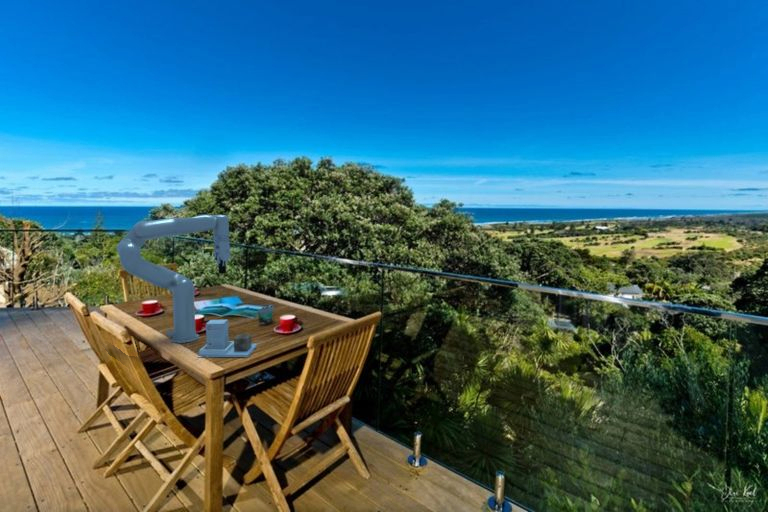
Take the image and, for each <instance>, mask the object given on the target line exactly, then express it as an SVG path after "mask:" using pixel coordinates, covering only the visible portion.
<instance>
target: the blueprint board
mask: <svg viewBox="0 0 768 512" xmlns="http://www.w3.org/2000/svg"><path fill="white" fill-rule="evenodd" d="M251 346H252V347H251V348H250V349H249V350H248V351H234V340H229V346H228V347H227V348H226V349H225V350H216V349H207V343H206V344H205V345H204V346H202V347H201V348H200V349H199V350H198V354H197V355H198V356H210V357H248V356H249V355H250V354H251V353H254V351H255V350H256V349H257V348H256V347H258V343H251ZM255 348H256V349H255ZM254 349H255V350H254ZM251 355H252V354H251ZM251 355H250V356H251ZM250 356H249V357H250ZM210 357H209V358H210ZM249 357H248V358H249Z"/></svg>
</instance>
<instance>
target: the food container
mask: <svg viewBox="0 0 768 512" xmlns="http://www.w3.org/2000/svg"><path fill="white" fill-rule="evenodd" d="M274 310H275V307H274V305H273V304H271V303H267V305H266V306H262V307H261V308H257V316H258V325H259V326H268V325H271V324H273V315H274V313H273V311H274Z"/></svg>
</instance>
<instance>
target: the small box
mask: <svg viewBox="0 0 768 512" xmlns="http://www.w3.org/2000/svg"><path fill="white" fill-rule="evenodd" d="M205 333H206V337H205V338H206V344H207V349H216V350H225V349H226V348H227V347H228V346H229V341H230V339H229V320H228V319H210V320H208V321H207V322H206V323H205Z"/></svg>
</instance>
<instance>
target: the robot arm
mask: <svg viewBox="0 0 768 512" xmlns="http://www.w3.org/2000/svg"><path fill="white" fill-rule="evenodd" d="M229 225H230V224H229V216H228V215H227V214H226V215H225V214H215V215H210V214H199V215H197V216H193V217H192V216H191V217H168V218H163V219H162V218H161V219H156V220H155V219H154V220H140V221H138V222H136V223H135V224H134V226H133V227H132V228H131V229H130V230H129V231H128V233H126V235H124V236H123V238H121V240H120V241H119V242H118V243H117V246H116V252H117V254H118V255H119V256H118V257H119V262H120V265H121V267H122V268H123V270H124V271H126V272H127V273H128V274H130V275H131V276H133V277H136V278H138V279H140V280H143V281H145V282H147V283H149V284H152V285H153V286H155V287H159V288H162V289H165V290H168V291H170V292H172V312H173V314H172V315H173V330H167V331H166V335H167V337H168V336H169V337H170V336H171V338H170V340H171V342H172V341H173V342H172V343H174V342H177V343H176V344H187V343H191V342H194V341H197V340H199V339H200V335H199V334H198V333H196V332H197V331H196V314H195V311H196V310H195V294H196V293H195V292H196V291H195V285H194V283H193V281H192V280H191V279H189V278H188V277H186V276H184V275H182V274H180V273H178V272H175V271H174V270H172V269H170V268H167V267H165V266H163V265H156V264H154V263H153V262H150V261H148V260H146V259H144V258H143V256H141V251H142V249H141V248H142V247H143V246H144V245H145V244H146V242H147V241H148V240H154V239H159V238H166V237H173V236H180V235H181V236H182V235H187V234H195V233H202V232H206V231H207V232H208V231H212V235H213V236H212V237H213V238H212V239H213V243H214V245H213V246H214V247H213V248H214V249H213V258H214V261H216V265H217V266H218V274H221V275H222V274H226V273H227V266H226V265H227V261H228V260H230V259H231V251H230V250H231V249H230V234H229V233H230V231H229V230H230V229H229ZM186 342H187V343H186Z"/></svg>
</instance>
